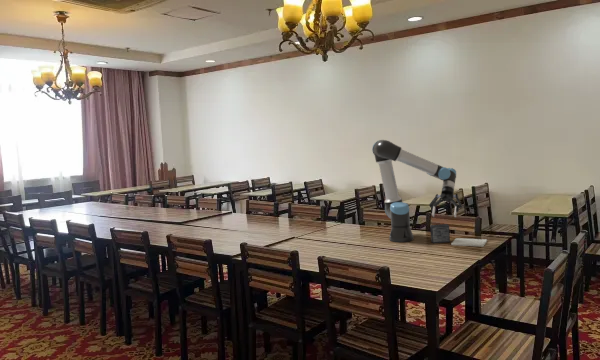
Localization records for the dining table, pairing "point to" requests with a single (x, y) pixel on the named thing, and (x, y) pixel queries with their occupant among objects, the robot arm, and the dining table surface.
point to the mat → (469, 242)
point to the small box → (440, 233)
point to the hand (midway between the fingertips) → (443, 216)
